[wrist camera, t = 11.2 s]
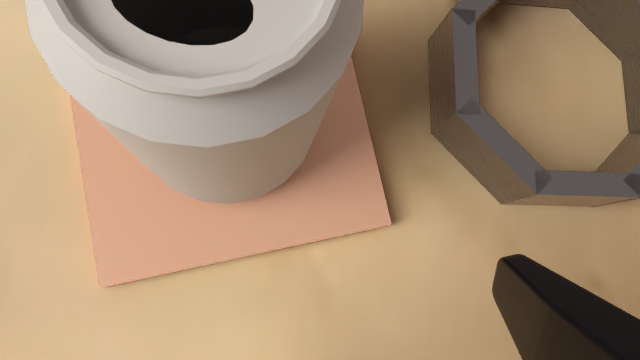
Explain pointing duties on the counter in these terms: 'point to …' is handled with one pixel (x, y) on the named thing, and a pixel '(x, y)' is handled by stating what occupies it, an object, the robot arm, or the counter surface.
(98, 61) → the can
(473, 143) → the collar
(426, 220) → the counter surface
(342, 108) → the coaster
